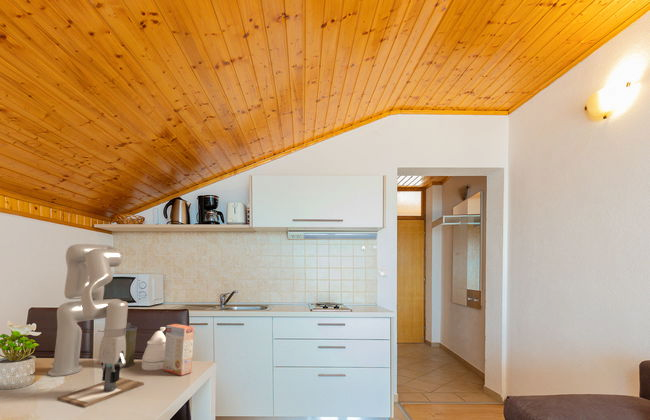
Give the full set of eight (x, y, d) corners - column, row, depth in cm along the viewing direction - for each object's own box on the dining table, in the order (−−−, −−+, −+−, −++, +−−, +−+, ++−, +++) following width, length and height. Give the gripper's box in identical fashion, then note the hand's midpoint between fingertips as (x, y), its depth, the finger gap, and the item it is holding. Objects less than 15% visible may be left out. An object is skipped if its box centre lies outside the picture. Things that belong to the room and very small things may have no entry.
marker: (100, 390, 133) (104, 358, 134) (111, 386, 136) (114, 355, 138) (108, 392, 131) (111, 359, 133) (118, 388, 135) (121, 356, 136)
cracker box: (192, 372, 158) (195, 326, 161) (180, 376, 153) (183, 328, 156) (174, 367, 165) (177, 323, 168) (162, 370, 160) (165, 324, 163)
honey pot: (162, 360, 176) (165, 324, 179) (175, 365, 168) (177, 327, 171) (136, 366, 166) (140, 328, 169) (148, 372, 158) (151, 332, 161)
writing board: (57, 399, 127) (57, 396, 127) (117, 378, 149) (118, 376, 149) (84, 407, 121) (85, 404, 121) (143, 384, 143) (143, 382, 143)
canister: (126, 368, 163) (130, 325, 165) (104, 368, 163) (109, 325, 165) (139, 361, 173) (142, 321, 176) (118, 361, 173) (122, 320, 176)
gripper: (92, 332, 136) (87, 380, 134) (120, 336, 130) (115, 387, 127) (110, 329, 143) (105, 374, 141) (137, 333, 137) (133, 380, 134)
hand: (110, 380), depth 134 cm, fingers closed on marker, 4 cm apart
